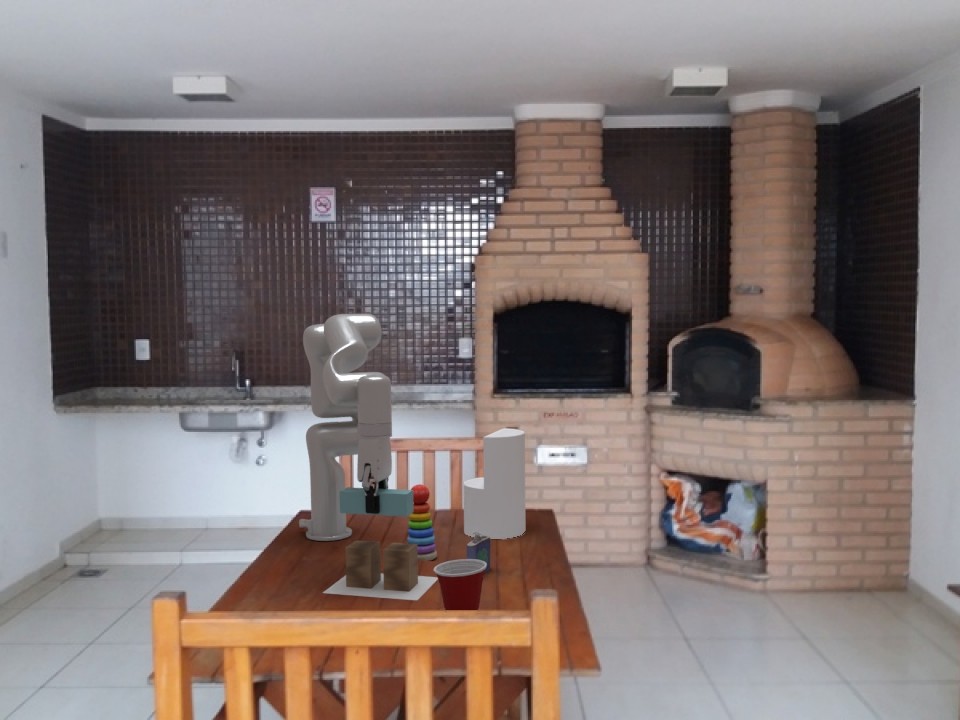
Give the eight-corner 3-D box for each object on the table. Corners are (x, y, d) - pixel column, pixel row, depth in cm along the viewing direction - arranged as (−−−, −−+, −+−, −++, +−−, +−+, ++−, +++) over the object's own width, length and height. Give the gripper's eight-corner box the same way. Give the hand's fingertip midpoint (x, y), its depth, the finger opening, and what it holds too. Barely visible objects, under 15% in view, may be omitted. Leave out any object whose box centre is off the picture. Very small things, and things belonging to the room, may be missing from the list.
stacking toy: (442, 555, 227) (441, 483, 226) (427, 564, 220) (426, 489, 219) (415, 552, 231) (414, 480, 229) (400, 560, 224) (398, 486, 222)
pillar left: (346, 586, 201) (345, 547, 200) (356, 578, 206) (355, 540, 206) (371, 588, 199) (370, 549, 198) (380, 580, 205) (380, 541, 204)
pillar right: (383, 589, 198) (383, 549, 198) (393, 581, 204) (392, 542, 203) (409, 591, 197) (408, 551, 196) (418, 583, 202) (417, 544, 202)
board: (322, 597, 197) (322, 592, 197) (350, 575, 212) (350, 571, 212) (417, 604, 191) (417, 600, 191) (439, 581, 207) (439, 577, 206)
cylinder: (533, 526, 256) (532, 429, 254) (514, 541, 239) (513, 438, 237) (476, 521, 261) (475, 427, 259) (454, 536, 245) (453, 435, 243)
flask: (473, 584, 205) (473, 538, 204) (462, 582, 206) (462, 536, 205) (492, 573, 213) (492, 528, 212) (482, 571, 214) (481, 527, 213)
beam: (340, 513, 201) (339, 491, 201) (347, 508, 206) (347, 487, 205) (406, 516, 197) (406, 494, 197) (413, 512, 202) (413, 490, 201)
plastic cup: (444, 611, 187) (443, 555, 186) (494, 615, 184) (493, 558, 183) (426, 629, 177) (425, 570, 176) (478, 635, 174) (478, 574, 173)
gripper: (373, 424, 209) (375, 501, 211) (344, 435, 193) (346, 518, 194) (403, 425, 207) (405, 503, 209) (376, 436, 191) (378, 520, 192)
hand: (377, 509), depth 201 cm, fingers closed on beam, 4 cm apart
